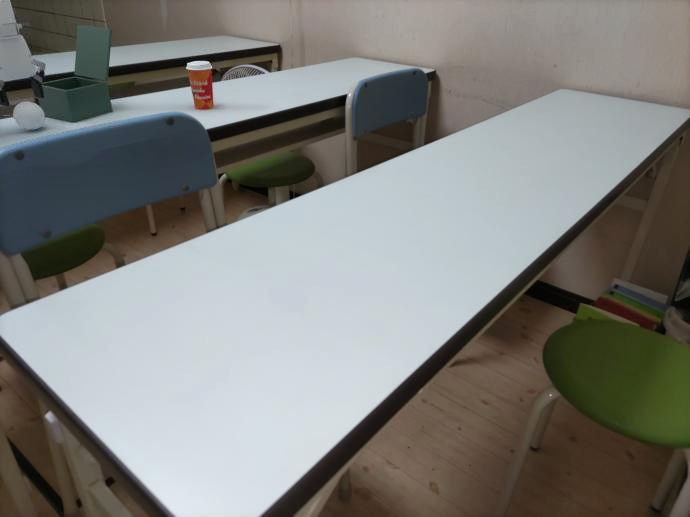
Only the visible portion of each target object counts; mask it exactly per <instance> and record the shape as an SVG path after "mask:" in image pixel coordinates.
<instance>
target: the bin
mask: <svg viewBox="0 0 690 517" xmlns="http://www.w3.org/2000/svg"><path fill="white" fill-rule="evenodd" d="M41 84H42V88H43V91H44V98H38V97H37V100H38V104H39V106H40V107H41V108H42V109H43V111H44V114H45V117H48V118H53V119H56V120H60V121H64V122H68V123H73V124H75V123H78V122H82V121H86V120H89V119H92V118H96V117H99V116H103V115H106V114H110V113H113V112H114V111H113V106H112V102H111V97H110V91H109V87H108V82H107V81H102V80H97V79H92V78H87V77H82V76H71V77H66V78H60V79H56V80H50V81H44V82H41Z"/></svg>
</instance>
